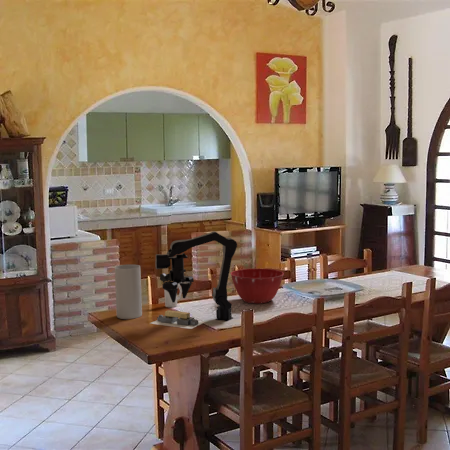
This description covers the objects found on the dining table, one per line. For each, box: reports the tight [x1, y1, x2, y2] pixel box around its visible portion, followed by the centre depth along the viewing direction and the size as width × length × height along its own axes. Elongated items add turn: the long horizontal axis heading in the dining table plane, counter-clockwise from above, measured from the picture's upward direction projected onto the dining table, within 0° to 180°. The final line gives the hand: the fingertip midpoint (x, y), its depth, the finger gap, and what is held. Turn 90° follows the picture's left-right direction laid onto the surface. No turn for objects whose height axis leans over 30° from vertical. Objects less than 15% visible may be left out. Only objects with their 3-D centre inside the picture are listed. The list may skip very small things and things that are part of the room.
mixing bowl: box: [229, 268, 284, 305], centre depth 340 cm, size 28×28×15 cm
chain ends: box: [157, 314, 199, 327], centre depth 299 cm, size 21×6×2 cm, turn 62°
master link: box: [164, 309, 191, 320], centre depth 299 cm, size 12×3×5 cm, turn 62°
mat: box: [149, 317, 206, 330], centre depth 299 cm, size 23×13×1 cm, turn 62°
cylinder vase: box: [114, 264, 143, 320], centre depth 313 cm, size 12×12×25 cm
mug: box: [163, 284, 182, 308], centre depth 334 cm, size 10×7×12 cm, turn 124°
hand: (178, 300), depth 299 cm, fingers open, 9 cm apart
